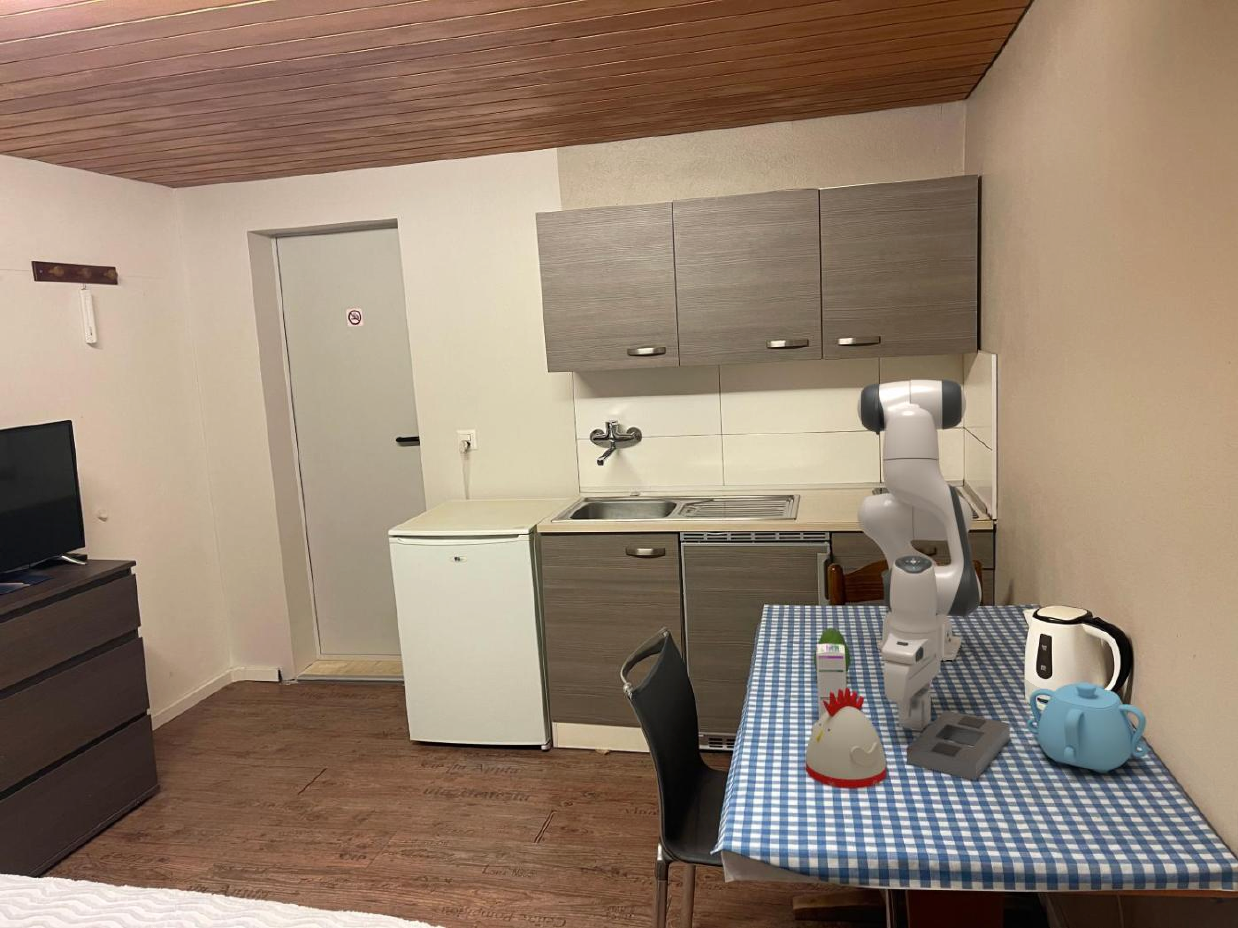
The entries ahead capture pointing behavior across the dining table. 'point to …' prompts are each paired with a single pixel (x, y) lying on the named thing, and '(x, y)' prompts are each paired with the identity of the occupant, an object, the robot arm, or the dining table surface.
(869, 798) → the dining table surface
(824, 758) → the kitchen timer
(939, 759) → the grey flat block
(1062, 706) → the decorative pot
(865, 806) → the dining table surface
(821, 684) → the syrup box
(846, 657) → the avocado
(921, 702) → the stepped metal block
